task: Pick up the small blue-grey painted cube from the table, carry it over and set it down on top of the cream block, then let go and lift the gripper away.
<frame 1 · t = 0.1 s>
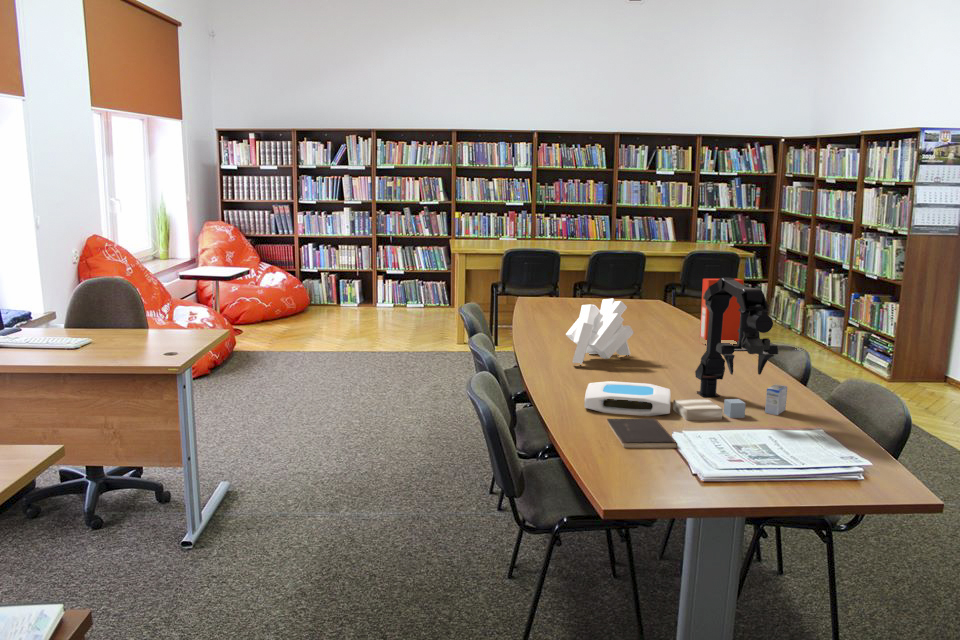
hand: (745, 374, 248), 14 cm above the table, tool pointing down, fingers open, 9 cm apart
cream block: (696, 415, 253), on the table
pile of blocks: (598, 360, 334), on the table
grey cube: (734, 415, 252), on the table
hardcover book: (640, 437, 230), on the table
file binder: (719, 343, 376), on the table
document scanner: (627, 407, 262), on the table
medicine box: (775, 412, 257), on the table
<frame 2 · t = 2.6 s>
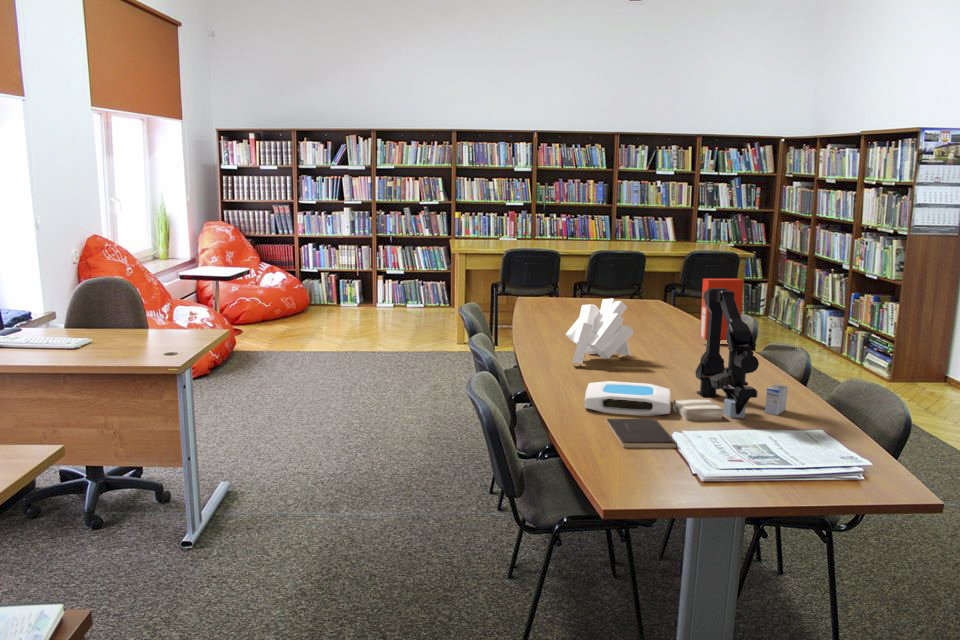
hand: (734, 411, 252), 1 cm above the table, tool pointing down, fingers closed on grey cube, 5 cm apart
grey cube: (734, 415, 252), on the table, touching gripper
everything else where it was.
when the fingers open (7 cm above the table, at t = 7.4 s): grey cube drops 2 cm, resting on cream block.
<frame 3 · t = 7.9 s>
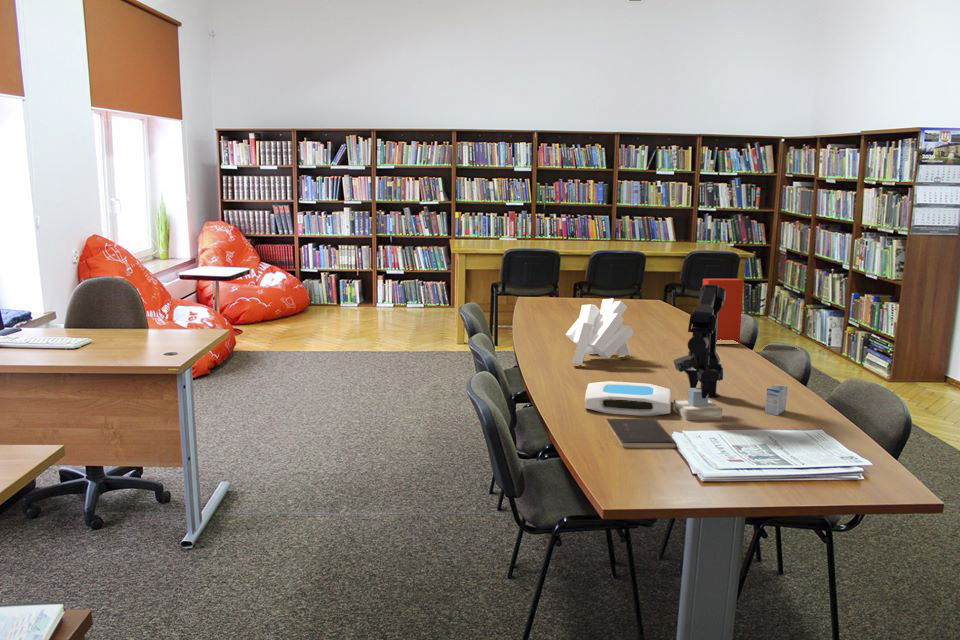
hand: (698, 394, 251), 7 cm above the table, tool pointing down, fingers open, 9 cm apart
cream block: (696, 416, 253), on the table, touching grey cube
grey cube: (697, 404, 252), point 3 cm above the table, touching cream block
everything else where it was.
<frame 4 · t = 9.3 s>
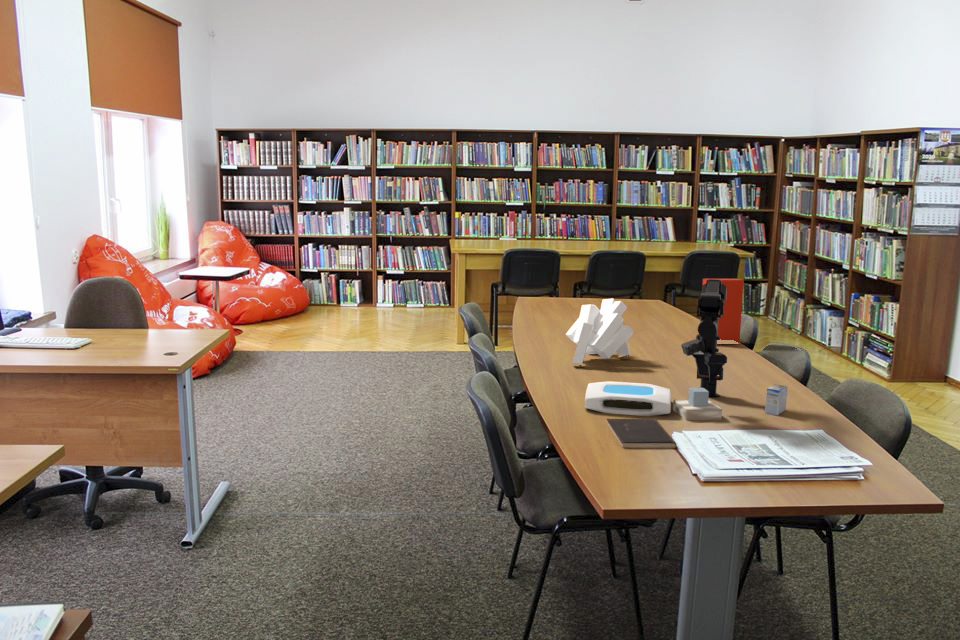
hand: (705, 378, 254), 12 cm above the table, tool pointing down, fingers open, 9 cm apart
cream block: (696, 416, 253), on the table
grey cube: (697, 404, 252), point 3 cm above the table
everything else where it was.
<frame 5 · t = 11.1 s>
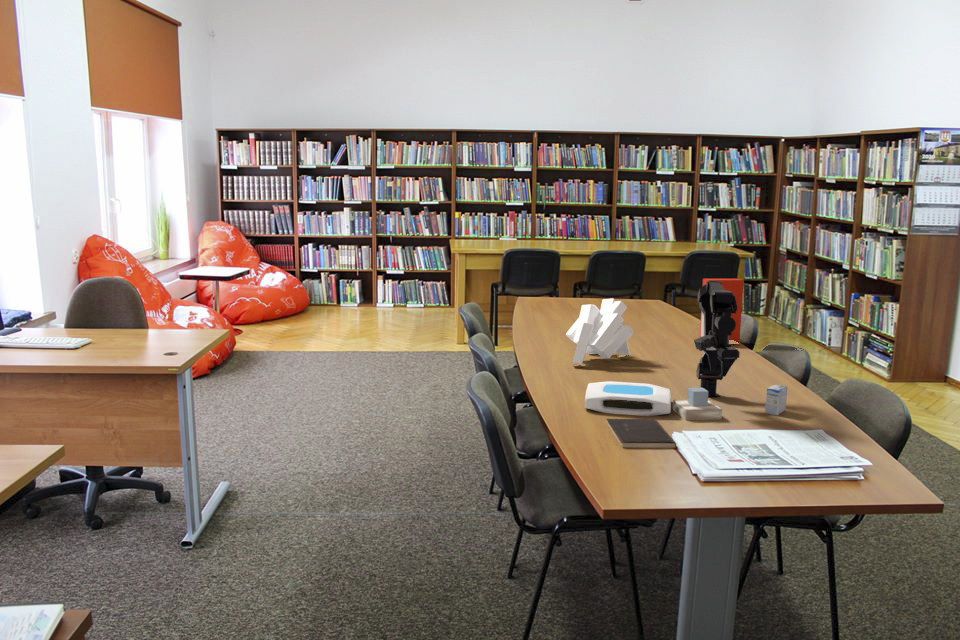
hand: (717, 373, 260), 12 cm above the table, tool pointing down, fingers open, 9 cm apart
nothing on the table moved.
at the end: grey cube inside the target area on the cream block (0.3 cm from its centre), point 4.0 cm above the cream block's base; grey cube tilted 0°; the gripper is holding nothing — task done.
